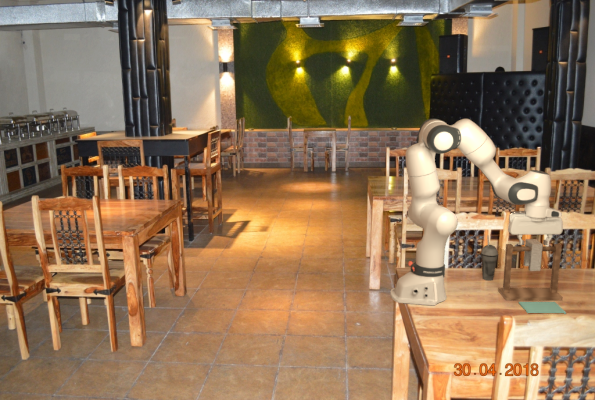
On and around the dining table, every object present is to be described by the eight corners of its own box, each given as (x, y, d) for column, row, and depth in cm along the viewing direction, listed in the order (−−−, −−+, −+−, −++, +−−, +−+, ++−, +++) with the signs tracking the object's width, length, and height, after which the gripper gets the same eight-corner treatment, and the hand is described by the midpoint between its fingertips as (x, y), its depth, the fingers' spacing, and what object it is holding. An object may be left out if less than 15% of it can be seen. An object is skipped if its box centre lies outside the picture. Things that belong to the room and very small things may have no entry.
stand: (506, 300, 214) (510, 248, 209) (498, 290, 224) (501, 241, 219) (562, 300, 213) (567, 248, 208) (551, 290, 223) (556, 240, 218)
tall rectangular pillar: (529, 270, 213) (532, 244, 210) (523, 264, 219) (525, 239, 217) (540, 270, 212) (542, 244, 210) (533, 264, 219) (535, 239, 217)
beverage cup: (497, 282, 233) (500, 238, 229) (480, 281, 235) (483, 237, 230) (495, 276, 240) (498, 233, 236) (478, 275, 242) (480, 232, 237)
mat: (528, 313, 202) (528, 312, 202) (518, 303, 212) (518, 301, 211) (566, 314, 201) (566, 312, 201) (554, 303, 211) (554, 301, 211)
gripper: (512, 213, 208) (509, 247, 211) (566, 212, 207) (562, 247, 210) (506, 209, 214) (504, 242, 217) (559, 209, 213) (556, 242, 216)
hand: (533, 244), depth 214 cm, fingers open, 8 cm apart
